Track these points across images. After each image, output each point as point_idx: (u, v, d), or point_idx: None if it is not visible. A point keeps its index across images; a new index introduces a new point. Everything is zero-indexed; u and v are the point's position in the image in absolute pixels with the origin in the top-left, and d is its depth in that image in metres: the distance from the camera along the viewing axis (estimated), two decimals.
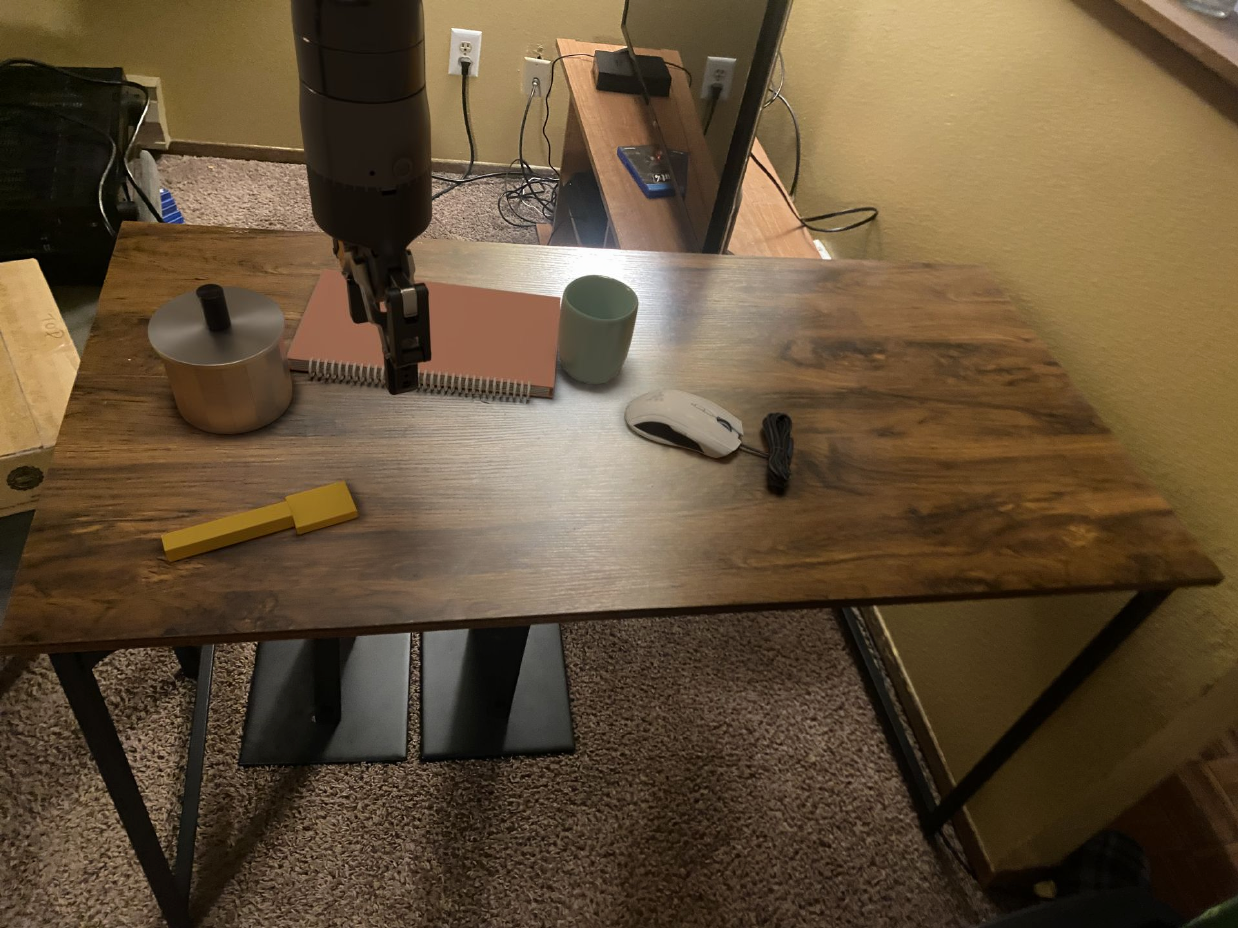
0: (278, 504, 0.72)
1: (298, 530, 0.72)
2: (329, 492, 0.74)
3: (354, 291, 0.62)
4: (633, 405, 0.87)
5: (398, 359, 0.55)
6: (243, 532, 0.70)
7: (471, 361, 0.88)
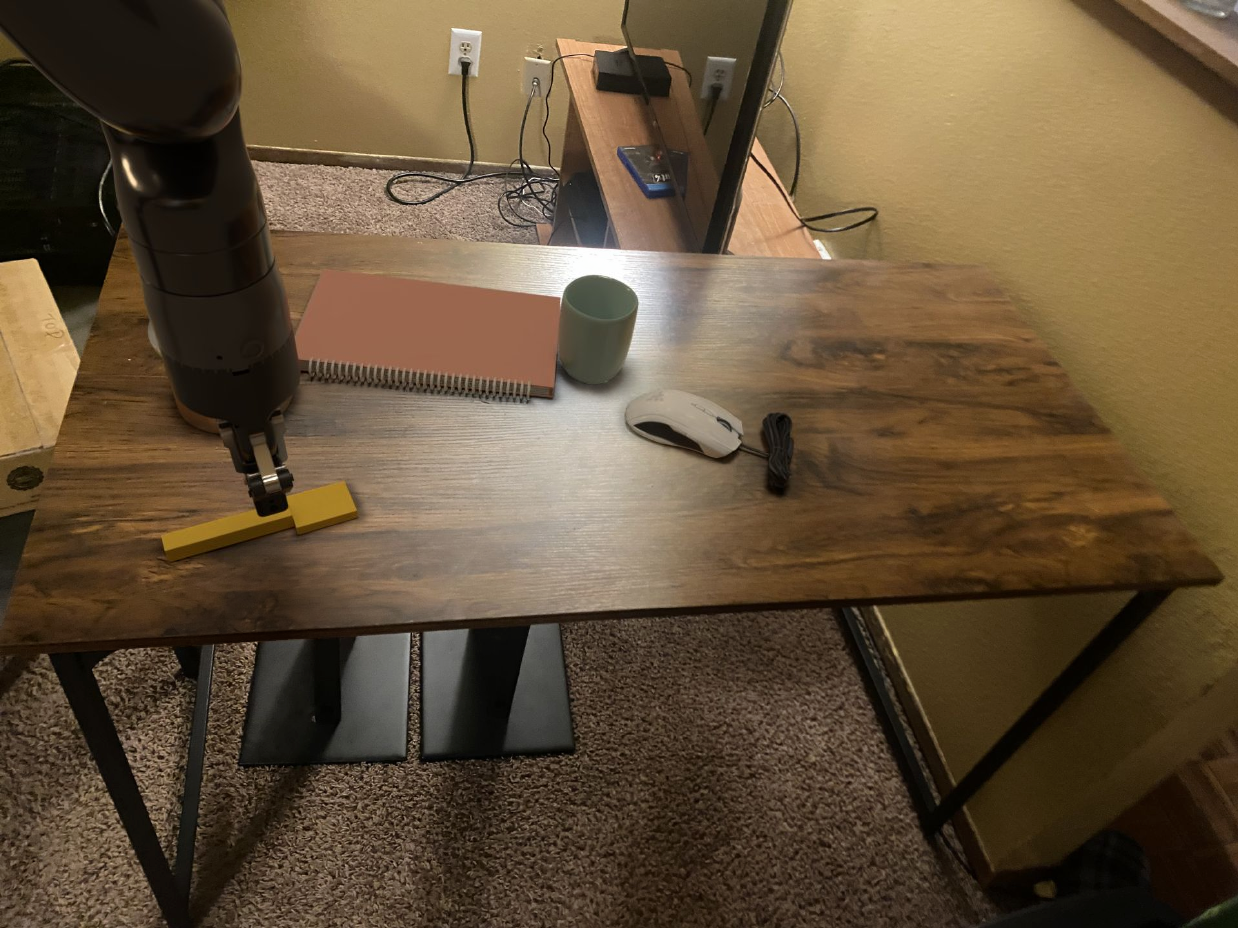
0: None
1: (298, 530, 0.72)
2: (329, 492, 0.74)
3: None
4: (633, 405, 0.87)
5: None
6: (243, 532, 0.70)
7: (471, 361, 0.88)
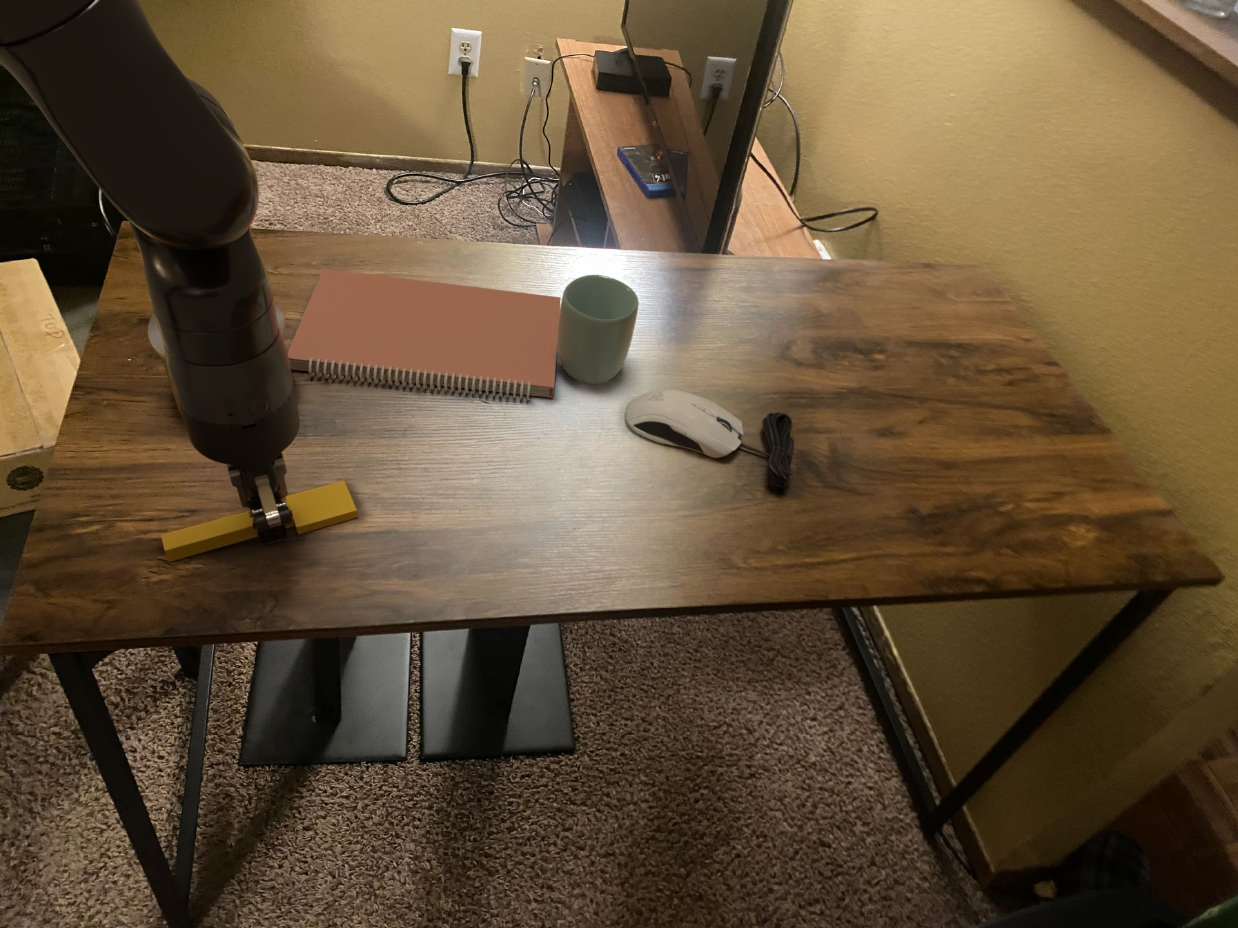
0: None
1: (298, 530, 0.72)
2: (329, 492, 0.74)
3: None
4: (633, 405, 0.87)
5: None
6: (243, 532, 0.70)
7: (471, 361, 0.88)
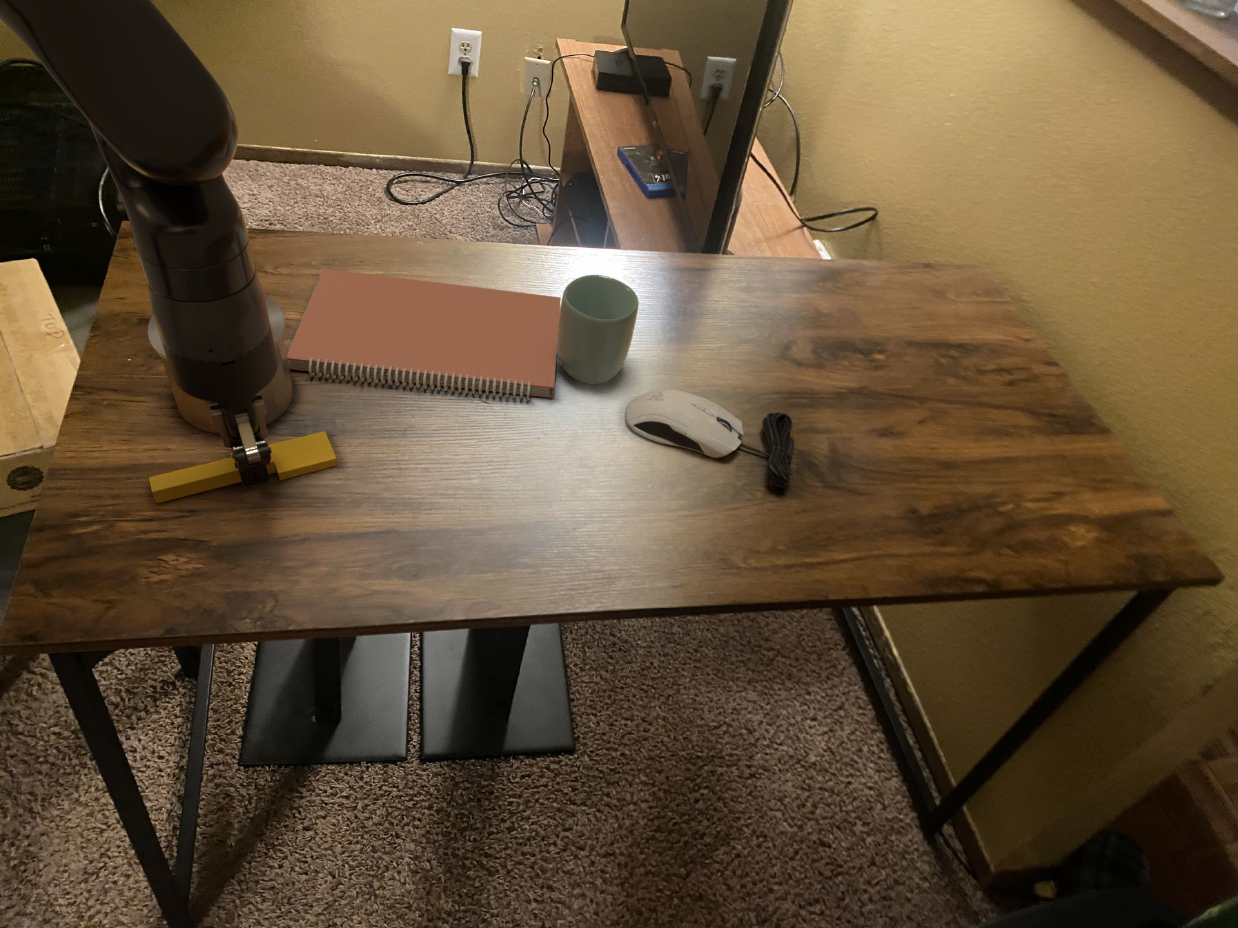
0: None
1: (280, 475, 0.75)
2: (310, 441, 0.78)
3: None
4: (633, 405, 0.87)
5: None
6: (227, 476, 0.74)
7: (471, 361, 0.88)
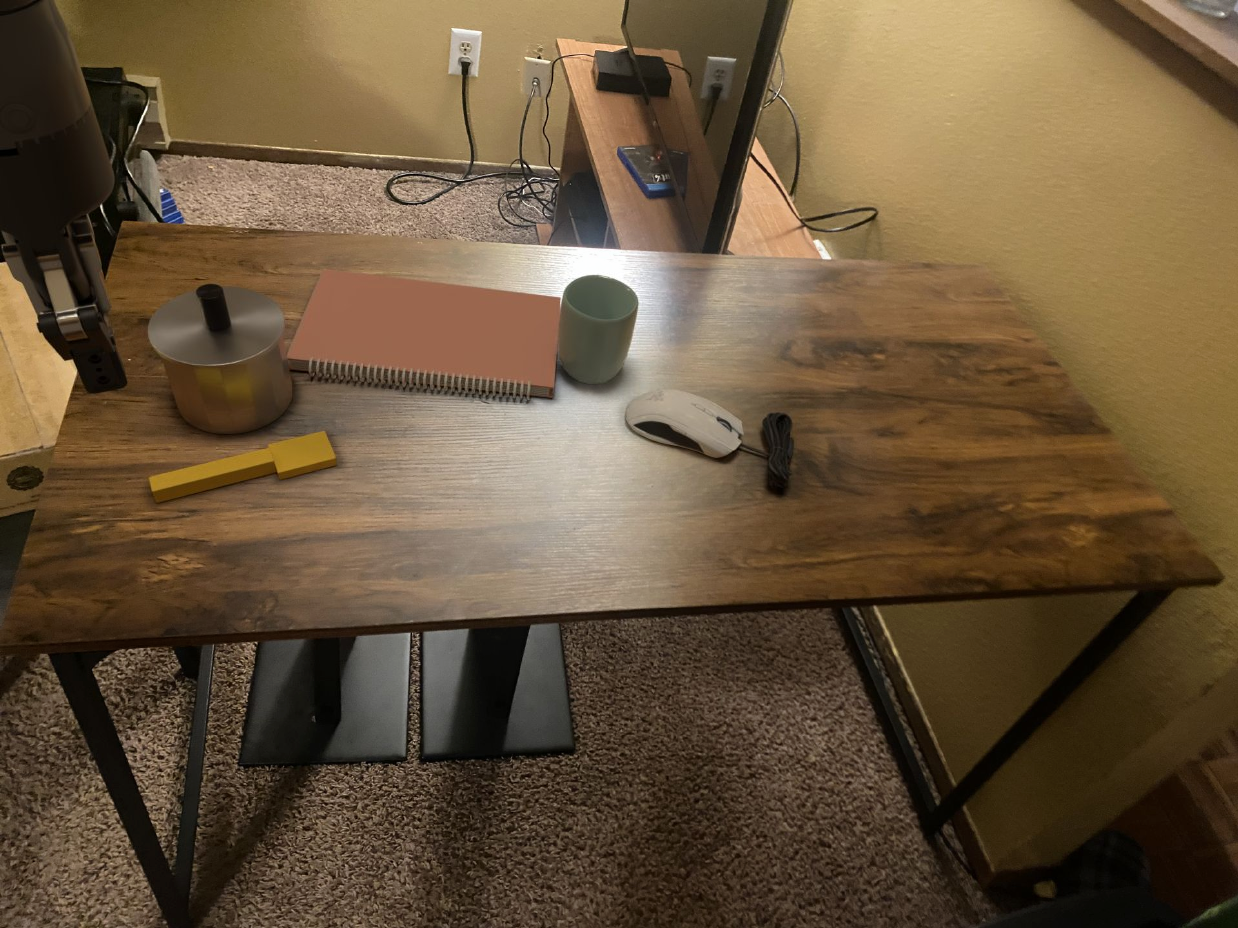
0: (260, 451, 0.76)
1: (279, 475, 0.75)
2: (310, 441, 0.78)
3: None
4: (633, 405, 0.87)
5: None
6: (227, 476, 0.74)
7: (471, 361, 0.88)
